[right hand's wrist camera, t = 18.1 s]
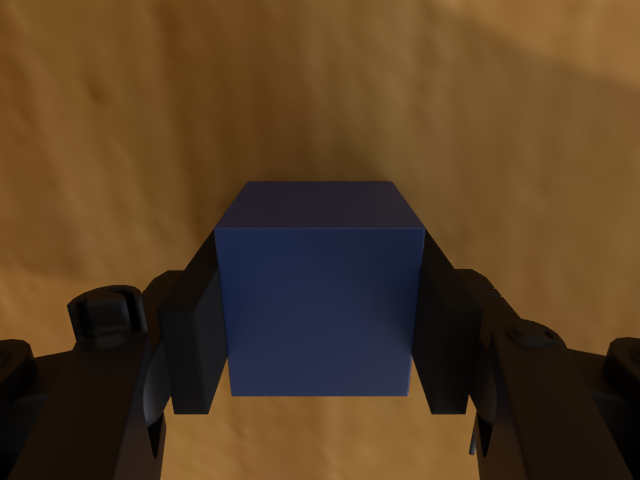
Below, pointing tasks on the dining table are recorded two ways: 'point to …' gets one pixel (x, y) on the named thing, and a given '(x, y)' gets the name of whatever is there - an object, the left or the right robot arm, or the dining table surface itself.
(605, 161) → the dining table surface
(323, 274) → the blue cube
